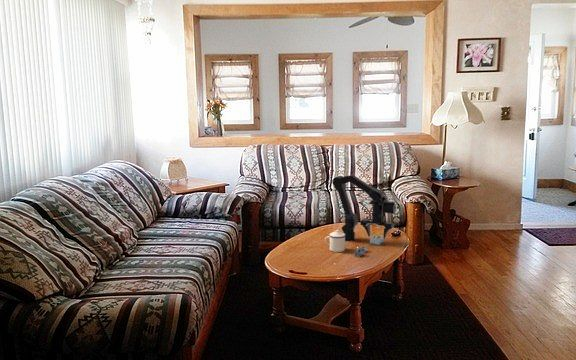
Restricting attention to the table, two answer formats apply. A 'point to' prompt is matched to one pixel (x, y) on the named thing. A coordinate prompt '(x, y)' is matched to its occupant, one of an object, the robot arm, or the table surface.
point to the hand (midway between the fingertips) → (376, 237)
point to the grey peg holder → (377, 244)
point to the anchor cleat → (358, 252)
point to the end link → (376, 240)
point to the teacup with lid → (336, 241)
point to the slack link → (363, 249)
